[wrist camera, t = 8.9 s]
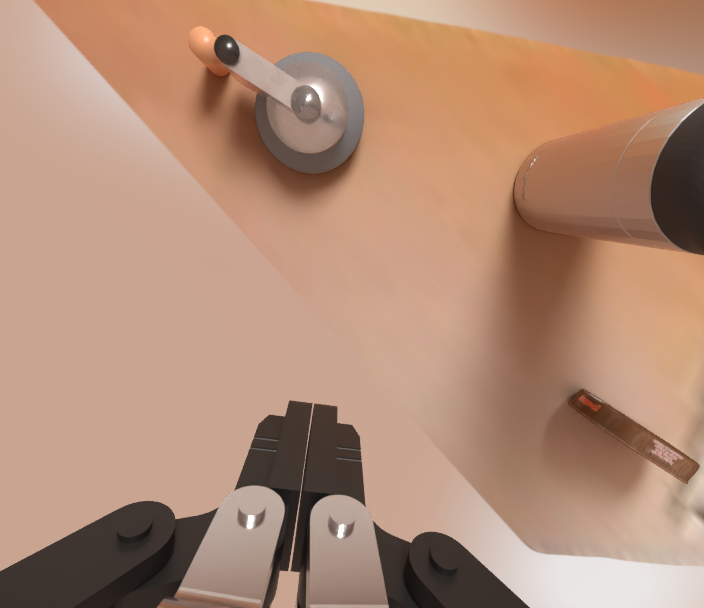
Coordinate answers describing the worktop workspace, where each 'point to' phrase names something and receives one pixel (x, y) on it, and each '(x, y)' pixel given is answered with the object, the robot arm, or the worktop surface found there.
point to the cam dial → (291, 96)
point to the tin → (634, 436)
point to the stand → (312, 164)
